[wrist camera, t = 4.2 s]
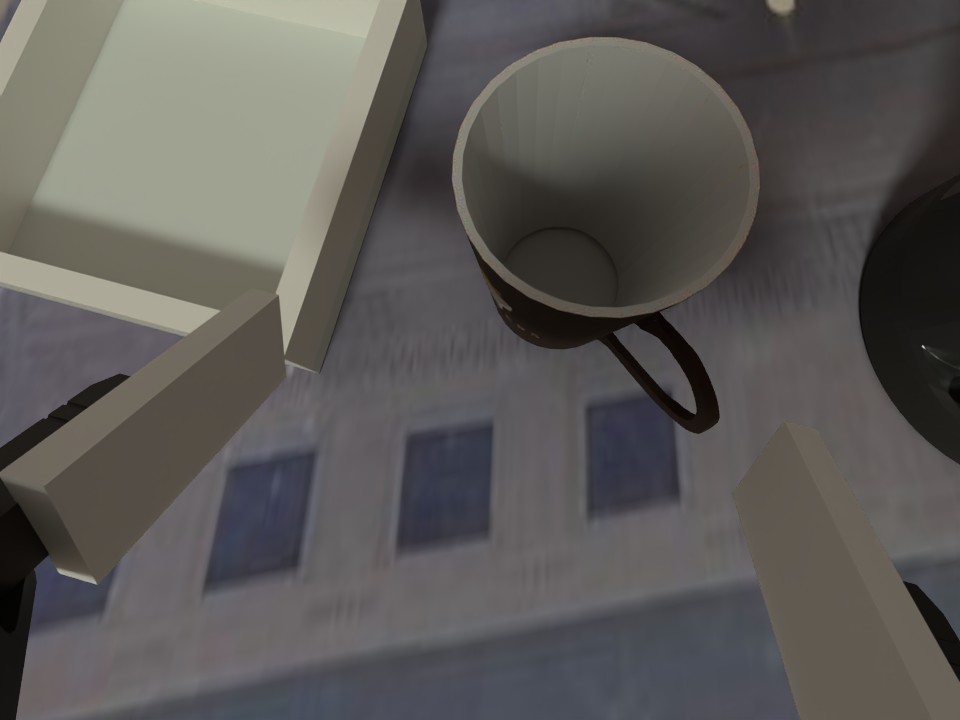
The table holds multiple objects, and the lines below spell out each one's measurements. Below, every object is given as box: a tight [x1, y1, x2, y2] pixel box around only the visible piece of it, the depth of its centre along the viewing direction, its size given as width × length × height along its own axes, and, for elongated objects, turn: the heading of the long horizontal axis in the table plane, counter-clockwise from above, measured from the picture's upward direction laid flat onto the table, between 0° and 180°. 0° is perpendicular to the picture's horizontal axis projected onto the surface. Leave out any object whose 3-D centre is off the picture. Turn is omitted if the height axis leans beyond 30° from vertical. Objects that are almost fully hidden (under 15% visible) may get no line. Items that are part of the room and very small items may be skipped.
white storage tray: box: [0, 0, 428, 373], centre depth 23 cm, size 17×18×4 cm
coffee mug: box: [452, 37, 760, 434], centre depth 18 cm, size 12×9×10 cm
